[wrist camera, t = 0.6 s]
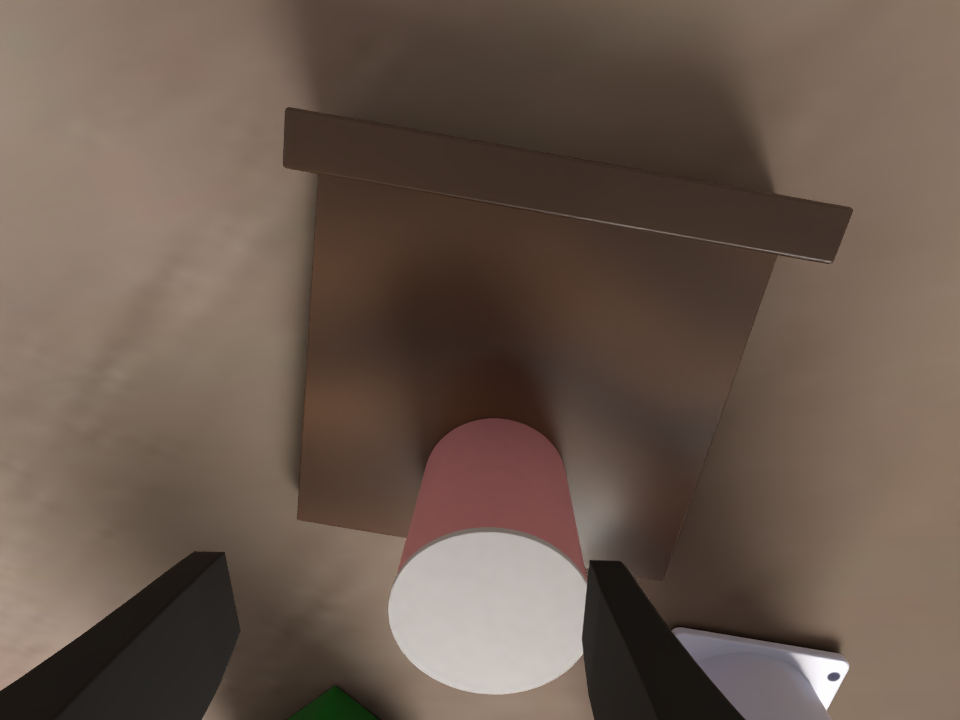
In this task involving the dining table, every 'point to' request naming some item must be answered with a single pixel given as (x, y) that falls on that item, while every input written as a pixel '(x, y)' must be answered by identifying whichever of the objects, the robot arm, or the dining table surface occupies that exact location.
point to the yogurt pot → (491, 563)
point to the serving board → (526, 320)
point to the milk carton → (333, 708)
